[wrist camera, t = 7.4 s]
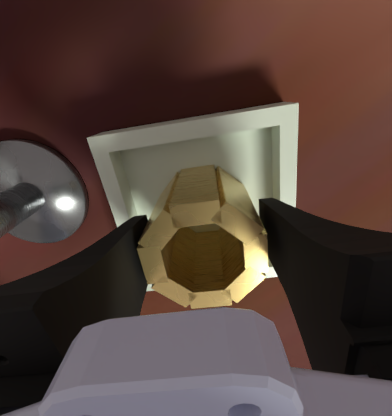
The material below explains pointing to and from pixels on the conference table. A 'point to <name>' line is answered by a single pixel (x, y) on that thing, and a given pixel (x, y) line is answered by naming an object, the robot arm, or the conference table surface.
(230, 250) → the collar
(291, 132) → the tray
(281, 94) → the conference table surface
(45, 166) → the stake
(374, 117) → the conference table surface
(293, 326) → the conference table surface
